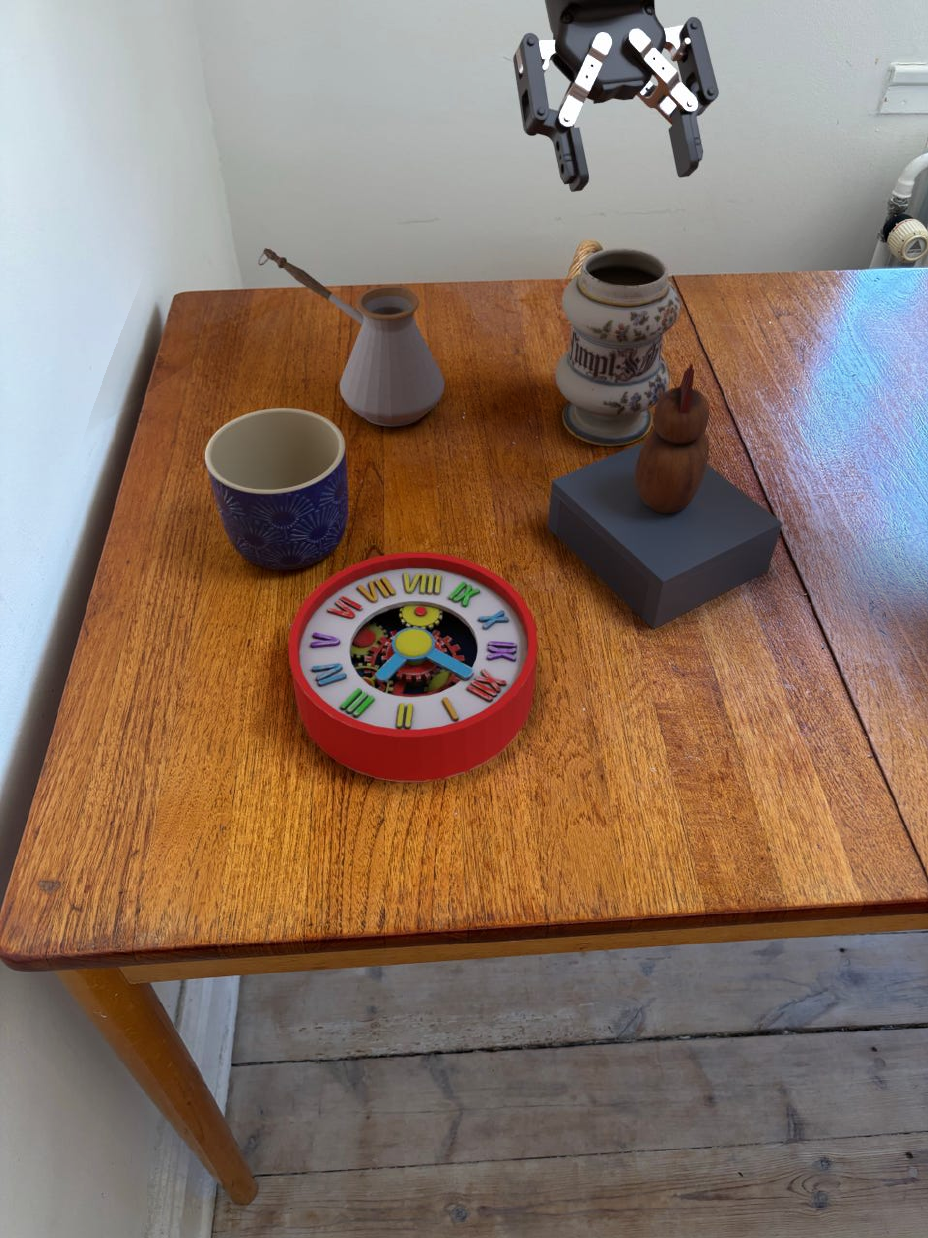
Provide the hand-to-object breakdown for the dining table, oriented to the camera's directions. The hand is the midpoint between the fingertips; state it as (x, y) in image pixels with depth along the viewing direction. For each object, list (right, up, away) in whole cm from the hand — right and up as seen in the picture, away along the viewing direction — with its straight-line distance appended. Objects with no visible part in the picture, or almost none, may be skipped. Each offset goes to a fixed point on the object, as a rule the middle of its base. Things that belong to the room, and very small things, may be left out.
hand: (635, 179), depth 73 cm
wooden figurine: (+6, -21, +20) cm, 30 cm away
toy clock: (-17, -37, +13) cm, 43 cm away
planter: (-29, -24, +25) cm, 45 cm away
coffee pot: (-25, -6, +42) cm, 49 cm away
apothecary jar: (+3, -10, +39) cm, 40 cm away
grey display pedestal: (+6, -25, +24) cm, 35 cm away
